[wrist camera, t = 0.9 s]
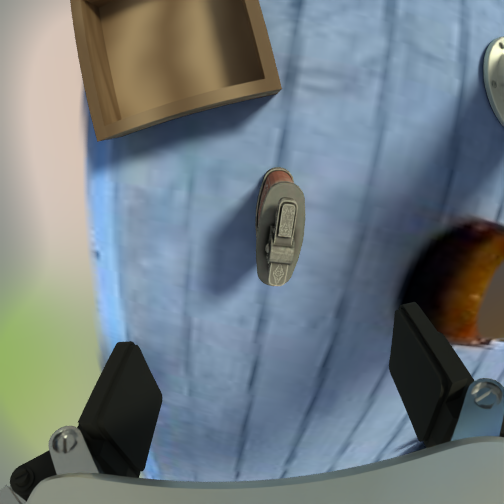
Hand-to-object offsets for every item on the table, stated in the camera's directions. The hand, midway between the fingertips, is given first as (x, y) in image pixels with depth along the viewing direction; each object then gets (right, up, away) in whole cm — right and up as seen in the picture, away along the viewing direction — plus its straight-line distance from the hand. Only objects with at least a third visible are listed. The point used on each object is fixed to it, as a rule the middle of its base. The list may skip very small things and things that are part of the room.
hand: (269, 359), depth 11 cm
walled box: (-7, +23, +13) cm, 27 cm away
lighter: (+1, +8, +20) cm, 21 cm away
